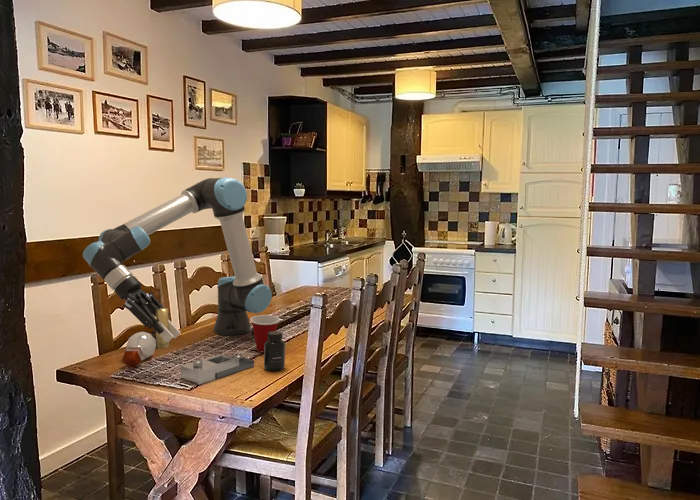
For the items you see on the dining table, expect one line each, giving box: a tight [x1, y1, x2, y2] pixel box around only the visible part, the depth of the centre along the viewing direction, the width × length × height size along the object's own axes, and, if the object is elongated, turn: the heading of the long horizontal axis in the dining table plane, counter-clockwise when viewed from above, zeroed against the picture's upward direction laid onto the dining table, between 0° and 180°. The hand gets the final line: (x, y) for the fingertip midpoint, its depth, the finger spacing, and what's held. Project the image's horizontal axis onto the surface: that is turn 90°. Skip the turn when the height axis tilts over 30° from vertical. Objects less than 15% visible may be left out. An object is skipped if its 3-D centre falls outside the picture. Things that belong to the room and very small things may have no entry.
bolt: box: [150, 329, 158, 349], centre depth 194 cm, size 6×5×15 cm
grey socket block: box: [180, 353, 239, 386], centre depth 160 cm, size 16×9×6 cm, turn 143°
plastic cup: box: [249, 314, 281, 353], centre depth 187 cm, size 11×11×12 cm
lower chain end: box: [215, 353, 255, 380], centre depth 165 cm, size 16×9×4 cm, turn 143°
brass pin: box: [155, 307, 170, 349], centre depth 159 cm, size 4×4×12 cm
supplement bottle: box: [263, 330, 286, 372], centre depth 167 cm, size 7×7×12 cm
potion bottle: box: [121, 331, 156, 368], centre depth 172 cm, size 9×10×15 cm
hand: (174, 337), depth 159 cm, fingers closed on brass pin, 3 cm apart
